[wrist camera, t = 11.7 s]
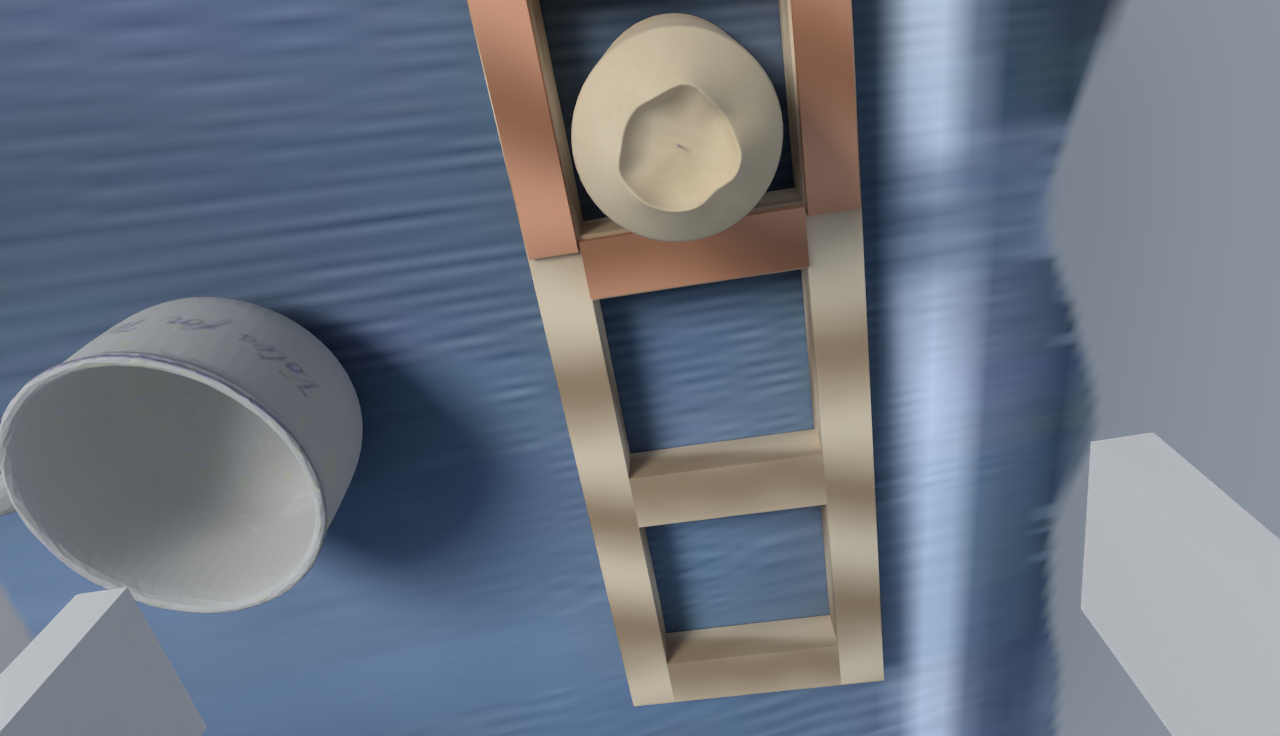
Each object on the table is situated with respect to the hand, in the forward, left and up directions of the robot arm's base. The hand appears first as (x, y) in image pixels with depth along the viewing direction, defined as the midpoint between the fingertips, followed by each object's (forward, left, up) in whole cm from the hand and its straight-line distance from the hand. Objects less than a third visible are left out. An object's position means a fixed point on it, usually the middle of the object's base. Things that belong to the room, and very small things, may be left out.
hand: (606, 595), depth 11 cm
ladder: (-3, -6, -21) cm, 22 cm away
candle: (+4, +1, -21) cm, 22 cm away
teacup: (-17, +9, -22) cm, 29 cm away
